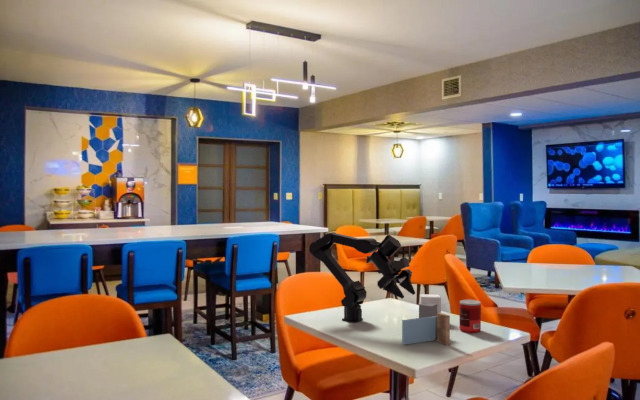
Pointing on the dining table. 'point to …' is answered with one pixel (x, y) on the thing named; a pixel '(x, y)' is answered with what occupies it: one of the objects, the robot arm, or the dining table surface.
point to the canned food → (470, 316)
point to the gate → (419, 330)
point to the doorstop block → (427, 310)
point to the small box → (431, 300)
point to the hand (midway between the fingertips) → (409, 295)
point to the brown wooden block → (443, 328)
